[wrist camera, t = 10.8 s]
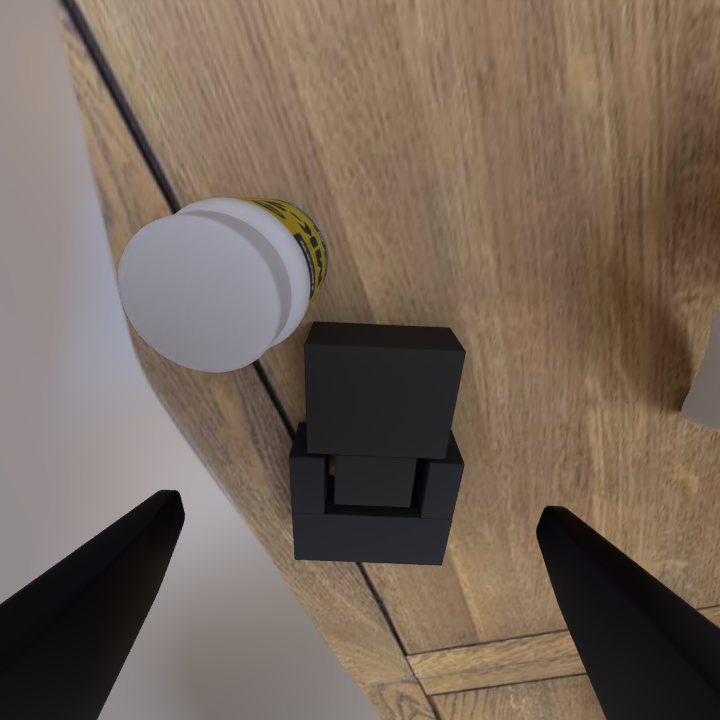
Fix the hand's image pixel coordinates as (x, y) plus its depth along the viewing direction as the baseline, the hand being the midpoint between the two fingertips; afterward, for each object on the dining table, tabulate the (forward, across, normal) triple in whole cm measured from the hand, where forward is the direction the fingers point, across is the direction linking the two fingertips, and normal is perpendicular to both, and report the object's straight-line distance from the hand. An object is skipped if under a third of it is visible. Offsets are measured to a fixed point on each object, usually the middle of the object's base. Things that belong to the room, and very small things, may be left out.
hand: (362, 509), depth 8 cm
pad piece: (+10, -1, +4) cm, 11 cm away
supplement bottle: (+11, +4, -4) cm, 12 cm away
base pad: (+10, -1, +10) cm, 15 cm away
